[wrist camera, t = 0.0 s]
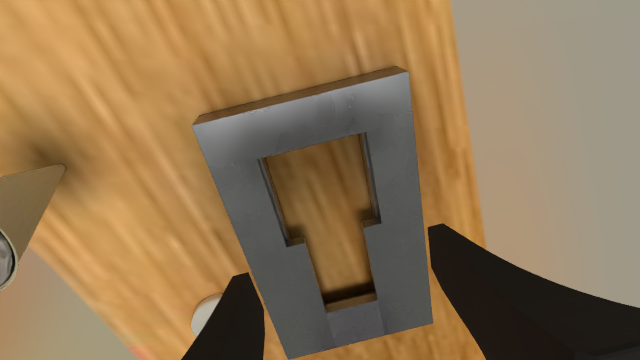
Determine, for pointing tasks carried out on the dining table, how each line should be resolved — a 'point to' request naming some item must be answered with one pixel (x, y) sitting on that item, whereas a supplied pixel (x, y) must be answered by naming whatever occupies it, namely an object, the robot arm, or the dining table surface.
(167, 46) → the dining table surface
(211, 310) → the peg
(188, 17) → the dining table surface
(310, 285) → the keyhole plate
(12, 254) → the ice cream cone
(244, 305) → the robot arm
